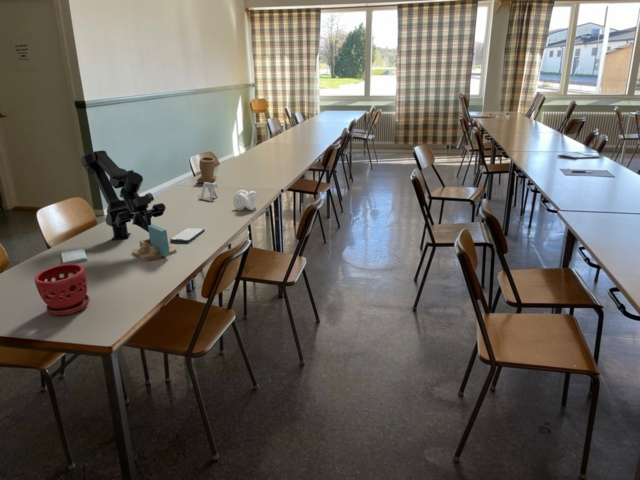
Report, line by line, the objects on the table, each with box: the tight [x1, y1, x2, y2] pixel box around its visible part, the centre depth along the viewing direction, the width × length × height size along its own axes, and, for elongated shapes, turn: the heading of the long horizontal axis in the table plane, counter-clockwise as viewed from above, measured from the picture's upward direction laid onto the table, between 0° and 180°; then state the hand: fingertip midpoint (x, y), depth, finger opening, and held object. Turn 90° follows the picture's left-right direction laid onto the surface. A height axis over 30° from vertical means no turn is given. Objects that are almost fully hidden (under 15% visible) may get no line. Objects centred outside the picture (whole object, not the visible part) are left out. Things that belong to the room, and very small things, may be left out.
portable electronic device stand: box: [197, 182, 219, 202], centre depth 258 cm, size 9×8×8 cm
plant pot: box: [33, 263, 91, 316], centre depth 142 cm, size 13×13×12 cm
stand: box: [131, 237, 178, 262], centre depth 185 cm, size 12×12×4 cm
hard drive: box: [60, 247, 89, 265], centre depth 183 cm, size 2×8×12 cm
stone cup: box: [196, 156, 217, 184], centre depth 296 cm, size 15×12×15 cm
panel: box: [148, 224, 171, 258], centre depth 180 cm, size 10×2×10 cm, turn 46°
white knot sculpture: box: [232, 189, 258, 211], centre depth 237 cm, size 11×12×9 cm
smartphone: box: [169, 227, 206, 244], centre depth 203 cm, size 9×2×16 cm
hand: (151, 232), depth 183 cm, fingers closed, pressing on panel
